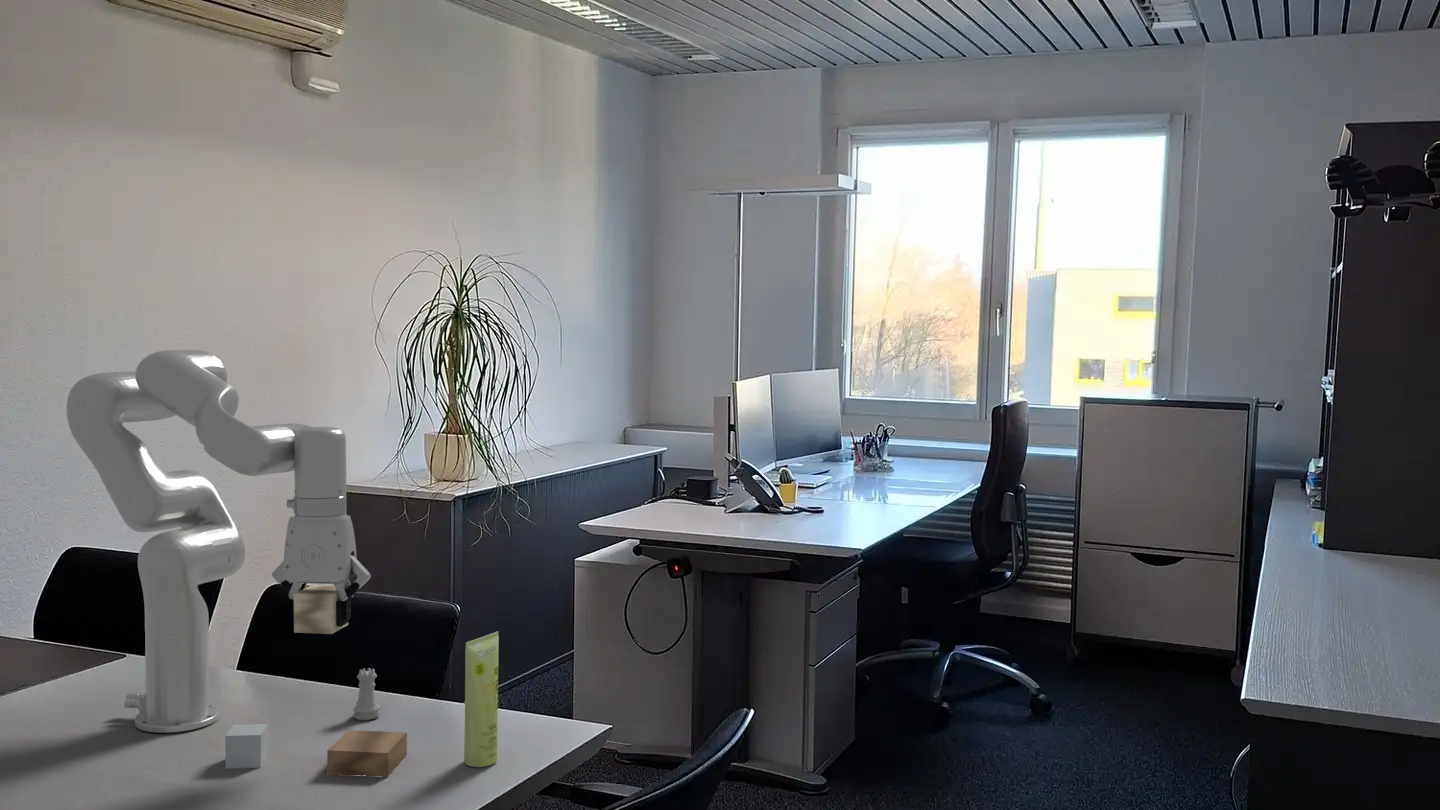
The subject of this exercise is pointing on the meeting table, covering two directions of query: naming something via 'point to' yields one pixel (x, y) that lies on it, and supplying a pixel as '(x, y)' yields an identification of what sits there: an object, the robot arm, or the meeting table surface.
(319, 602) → the birch block
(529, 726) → the meeting table surface
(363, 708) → the rook chess piece
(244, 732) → the grey block
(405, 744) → the walnut block
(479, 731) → the tube
